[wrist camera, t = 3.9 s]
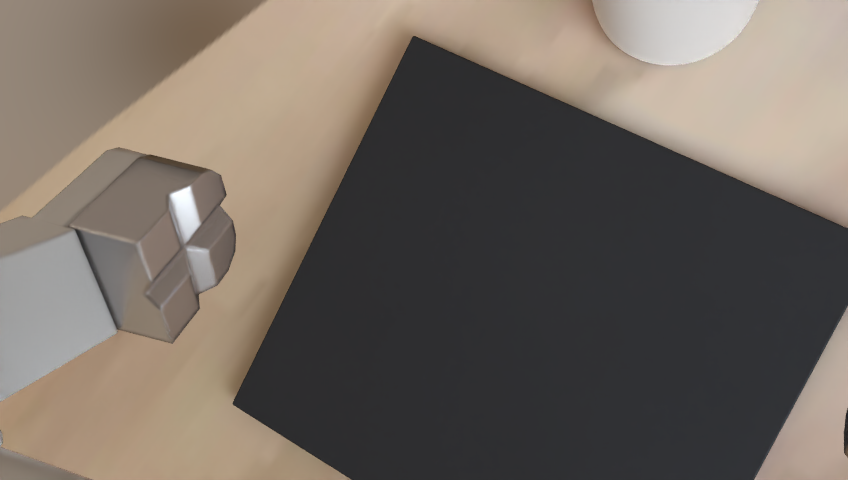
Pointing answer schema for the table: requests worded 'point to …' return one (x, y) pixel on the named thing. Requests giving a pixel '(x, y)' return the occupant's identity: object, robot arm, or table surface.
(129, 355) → the table surface
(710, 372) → the desk mat
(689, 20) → the can
